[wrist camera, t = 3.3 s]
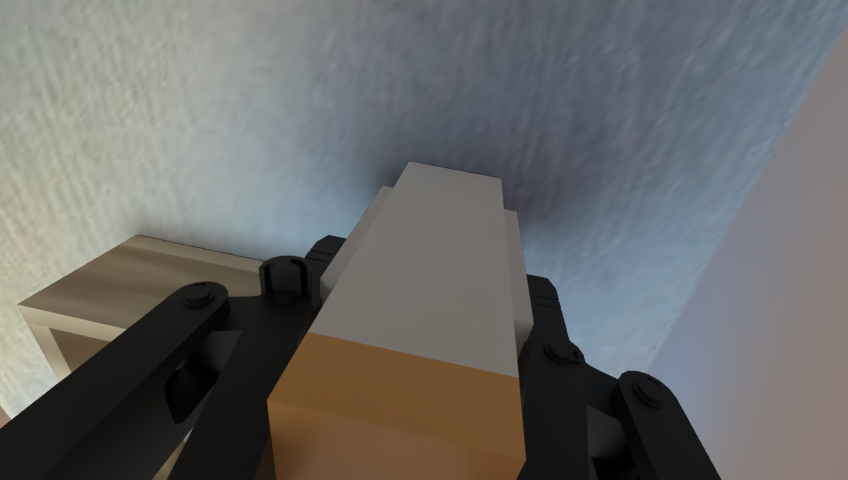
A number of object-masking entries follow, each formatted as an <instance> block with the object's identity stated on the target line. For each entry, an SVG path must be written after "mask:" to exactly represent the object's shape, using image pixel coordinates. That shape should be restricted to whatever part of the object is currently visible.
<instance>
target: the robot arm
mask: <svg viewBox="0 0 848 480" xmlns="http://www.w3.org/2000/svg"><path fill="white" fill-rule="evenodd" d="M392 190H393V188H392V187H387V186H382V187H381V189H380V190H379V192H378V193H377V195H376V196H375V198H374V199H373V201H372V202H371V204H370V205H369V207H368V208H367V210H366V211H365V213H364V214H363V216H362V217H361V219H360V220H359V222H358V223H357V225H356V226H355V228H354V229H353V230H352V232H351V233H350V235H349V236H348V238H347V239H346V238H341V237H336V236H331V235H328V236H326V237H324V238H322V239H320V240H319V241H317V242H316V243H315V245H314V246H313V247H312V248H311V250H310V251H309V252H308V253H307V255H306V256H305V258H301V257H297V256H279V257H274V258H271V259H269V260H267V261H265V262H263V263H262V265H261V266H260V267H259V278H260V287H261V294H260V295H258V296H237V297H229V294H228V290H227V289H226V287H225V286H224V285H222V284H220V283H217V282H211V281H202V282H195V283H191V284H188V285H185V286H183V287H181V288H180V289H178V290H176V291H175V292H173V293H172V294H171V295H170V296H168V297H167V298H166V299H164V300H163V301H162V302H161V303H159V304H158V305H157V306H156V307H154V308H153V309H152V310H150V311H149V312H148V313H147V314H145V315H144V316H143V317H142V318H140V319H139V320H138V321H136V322H135V323H134V324H133V325H131V326H130V327H129V328H128V329H126V330H125V331H124V332H122V333H121V334H120V335H119V336H117V337H116V338H115V339H114V340H112V341H111V342H110V343H108V344H107V345H106V346H105V347H103V348H102V349H101V350H100V351H98V352H97V353H96V354H95V355H93V356H92V357H91V358H89V359H88V360H87V361H86V362H84V363H83V364H82V365H81V366H79V367H78V368H77V369H75V370H74V371H73V372H72V373H70V374H69V375H68V376H67V377H65V378H64V379H63V380H61V381H60V382H59V383H58V384H56V385H55V386H54V387H53V388H51V389H50V390H49V391H47V392H46V393H45V394H44V395H42V396H41V397H40V398H39V399H37V400H36V401H35V402H33V403H32V404H31V405H30V406H28V407H27V408H26V409H25V410H23V411H22V412H21V413H19V414H18V415H17V416H16V417H14V418H13V419H12V420H11V421H9V422H8V423H7V424H6V425H4V426H3V427H2V428H0V480H152V479H153V478H154V477H155V475H156V474H157V473H158V471H159V470H160V469H161V468H162V466H163V465H164V464H165V463H166V461H167V460H168V459H169V457H170V456H171V455H172V454H173V452H174V451H175V450H176V449H177V447H178V446H179V445H180V444H181V442H182V441H183V440H184V438H185V437H186V436H187V435H188V433H189V432H190V431H191V430H192V431H191V433H190V435H189V437H188V439H187V441H186V443H185V445H184V447H183V448H182V450H181V452H180V454H179V456H178V458H177V460H176V462H175V464H174V466H173V468H172V470H171V472H170V474H169V476H168V478H167V480H276V473H275V465H274V456H273V448H272V439H271V431H270V422H269V413H268V405H267V399H268V397H269V396H270V394H271V392H272V391H273V389H274V387H275V386H276V384H277V382H278V381H279V379H280V377H281V376H282V374H283V372H284V371H285V369H286V367H287V366H288V364H289V362H290V360H291V359H292V357H293V355H294V354H295V352H296V350H297V349H298V347H299V345H300V344H301V342H302V340H303V339H304V337H305V335H306V334H307V332H308V330H309V329H310V327H311V325H312V324H313V322H314V320H315V319H316V317H317V315H318V314H319V312H320V310H321V309H322V307H323V305H324V304H325V302H326V300H327V298H328V297H329V295H330V293H331V292H332V290H333V288H334V287H335V285H336V283H337V282H338V280H339V278H340V277H341V275H342V273H343V272H344V270H345V268H346V267H347V265H348V263H349V262H350V260H351V258H352V257H353V255H354V253H355V252H356V250H357V248H358V247H359V245H360V243H361V241H362V240H363V238H364V236H365V235H366V233H367V231H368V230H369V228H370V226H371V225H372V223H373V221H374V220H375V218H376V216H377V215H378V213H379V211H380V210H381V208H382V206H383V205H384V203H385V201H386V200H387V198H388V196H389V195H390V193H391V191H392ZM504 216H505V228H506V239H507V250H508V262H509V273H510V284H511V296H512V307H513V318H514V329H515V341H516V352H517V363H518V375H519V386H520V397H521V409H522V420H523V431H524V443H525V454H526V461H525V463H524V465H523V467H522V469H521V471H520V473H519V475H518V477H517V479H516V480H721V478H720V476H719V474H718V473H717V471H716V469H715V467H714V465H713V464H712V462H711V460H710V458H709V456H708V454H707V453H706V451H705V449H704V447H703V446H702V444H701V442H700V440H699V438H698V436H697V435H696V433H695V431H694V429H693V427H692V426H691V424H690V422H689V420H688V418H687V416H686V415H685V413H684V411H683V409H682V407H681V406H680V404H679V402H678V400H677V398H676V397H675V396H674V394H673V393H672V392H671V390H670V389H669V388H668V387H666V386H665V385H664V384H663V383H662V382H660V381H659V380H657V379H656V378H654V377H652V376H650V375H649V374H646V373H642V372H639V371H627V372H624V373H622V374H621V376H620V377H619V379H616V378H614V377H612V376H610V375H608V374H606V373H603V372H601V371H599V370H597V369H595V368H593V367H591V366H590V365H588V364H587V363H586V362H585V359H584V355H583V353H582V352H581V351H580V349H579V348H578V347H577V346H576V345H574V344H573V343H572V342H571V341H569V337H568V333H567V329H566V326H565V322H564V318H563V314H562V310H561V306H560V302H559V301H558V300H559V299H558V295H557V291H556V288H555V287H554V286H553V285H552V283H551V282H550V281H549V280H548V278H544V277H539V276H534V275H529V274H526V270H525V263H524V257H523V250H522V244H521V238H520V231H519V225H518V218H517V212H516V211H511V210H506V209H504ZM192 428H193V429H192Z"/></svg>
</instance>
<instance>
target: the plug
mask: <svg viewBox="0 0 848 480" xmlns="http://www.w3.org/2000/svg"><path fill="white" fill-rule="evenodd" d="M267 405H268V413H269V422H270V431H271V439H272V448H273V456H274V465H275V473H276V480H516V479H517V477H518V475H519V473H520V471H521V469H522V467H523V465H524V463H525V461H526V454H525V443H524V431H523V420H522V409H521V397H520V386H519V375H518V363H517V352H516V341H515V329H514V318H513V307H512V296H511V284H510V273H509V262H508V250H507V239H506V228H505V216H504V205H503V194H502V182H501V178H495V177H490V176H485V175H479V174H474V173H469V172H464V171H458V170H453V169H448V168H442V167H437V166H432V165H426V164H421V163H416V162H410V161H409V163H408V164H407V166H406V168H405V169H404V171H403V173H402V174H401V176H400V178H399V179H398V181H397V183H396V185H395V186H394V188H393V190H392V191H391V193H390V195H389V196H388V198H387V200H386V201H385V203H384V205H383V206H382V208H381V210H380V211H379V213H378V215H377V216H376V218H375V220H374V221H373V223H372V225H371V226H370V228H369V230H368V231H367V233H366V235H365V236H364V238H363V240H362V241H361V243H360V245H359V247H358V248H357V250H356V252H355V253H354V255H353V257H352V258H351V260H350V262H349V263H348V265H347V267H346V268H345V270H344V272H343V273H342V275H341V277H340V278H339V280H338V282H337V283H336V285H335V287H334V288H333V290H332V292H331V293H330V295H329V297H328V298H327V300H326V302H325V304H324V305H323V307H322V309H321V310H320V312H319V314H318V315H317V317H316V319H315V320H314V322H313V324H312V325H311V327H310V329H309V330H308V332H307V334H306V335H305V337H304V339H303V340H302V342H301V344H300V345H299V347H298V349H297V350H296V352H295V354H294V355H293V357H292V359H291V360H290V362H289V364H288V366H287V367H286V369H285V371H284V372H283V374H282V376H281V377H280V379H279V381H278V382H277V384H276V386H275V387H274V389H273V391H272V392H271V394H270V396H269V397H268V399H267Z"/></svg>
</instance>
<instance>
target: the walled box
mask: <svg viewBox="0 0 848 480" xmlns="http://www.w3.org/2000/svg"><path fill="white" fill-rule="evenodd" d="M262 263H263V261H258V260H254V259H249V258H244V257H239V256H235V255H230V254H225V253H220V252H215V251H211V250H206V249H201V248H196V247H192V246H187V245H182V244H177V243H172V242H168V241H163V240H158V239H153V238H148V237H144V236H139V235H135V236H133V237H132V238H130V239H128V240H127V241H125V242H123V243H121V244H120V245H118V246H116V247H115V248H113V249H111V250H109V251H108V252H106V253H104V254H103V255H101V256H99V257H97V258H96V259H94V260H92V261H91V262H89V263H87V264H85V265H84V266H82V267H80V268H79V269H77V270H75V271H73V272H72V273H70V274H68V275H67V276H65V277H63V278H61V279H60V280H58V281H56V282H55V283H53V284H51V285H50V286H48V287H46V288H44V289H43V290H41V291H39V292H38V293H36V294H34V295H32V296H31V297H29V298H27V299H26V300H24V301H22V302H20V303H19V304H17V306H18V308H19V309H20V311H21V313H22V315H23V317H24V319H25V320H26V322H27V324H28V326H29V328H30V330H31V331H32V333H33V335H34V337H35V339H36V341H37V342H38V344H39V346H40V348H41V350H42V352H43V353H44V355H45V357H46V359H47V361H48V363H49V364H50V366H51V368H52V370H53V372H54V374H55V375H56V377H57V379H58V381H59V382H60V381H61V380H63V379H64V378H65V377H67V376H68V375H69V374H70V373H72V372H73V371H74V370H75V369H77V368H78V367H79V366H81V365H82V364H83V363H84V362H86V361H87V360H88V359H89V358H91V357H92V356H93V355H95V354H96V353H97V352H98V351H100V350H101V349H102V348H103V347H105V346H106V345H107V344H108V343H110V342H111V341H112V340H114V339H115V338H116V337H117V336H119V335H120V334H121V333H122V332H124V331H125V330H126V329H128V328H129V327H130V326H131V325H133V324H134V323H135V322H136V321H138V320H139V319H140V318H142V317H143V316H144V315H145V314H147V313H148V312H149V311H150V310H152V309H153V308H154V307H156V306H157V305H158V304H159V303H161V302H162V301H163V300H164V299H166V298H167V297H168V296H170V295H171V294H172V293H173V292H175V291H176V290H178V289H180V288H181V287H183V286H185V285H188V284H191V283H195V282H202V281H211V282H217V283H220V284H222V285H224V286H225V287H226V289H227V290H228V294H229V297H237V296H258V295H260V294H261V287H260V278H259V267H260V266H261V265H262ZM192 429H193V428H192ZM191 431H192V430H191ZM191 431H190V432H189V433H188V435H187V436H186V437H185V438H184V440H183V441H182V442H181V444H180V445H179V446H178V447H177V449H176V450H175V451H174V452H173V454H172V455H171V456H170V457H169V459H168V460H167V461H166V463H165V464H164V465H163V466H162V468H161V469H160V470H159V471H158V473H157V474H156V475H155V477H154V478H153V479H152V480H167V478H168V476H169V474H170V472H171V470H172V468H173V466H174V464H175V462H176V460H177V458H178V456H179V454H180V452H181V450H182V448H183V447H184V445H185V443H186V441H187V439H188V437H189V435H190V433H191Z"/></svg>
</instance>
